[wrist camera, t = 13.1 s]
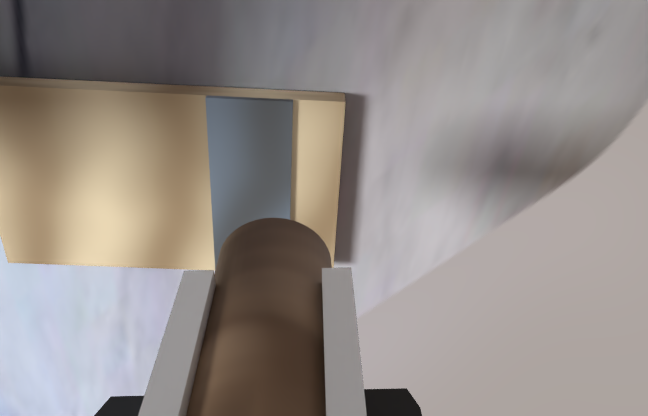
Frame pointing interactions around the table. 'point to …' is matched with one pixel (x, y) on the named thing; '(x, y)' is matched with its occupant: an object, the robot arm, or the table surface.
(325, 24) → the table surface
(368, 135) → the table surface
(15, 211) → the flat metallic slab
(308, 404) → the brown wooden cylinder
